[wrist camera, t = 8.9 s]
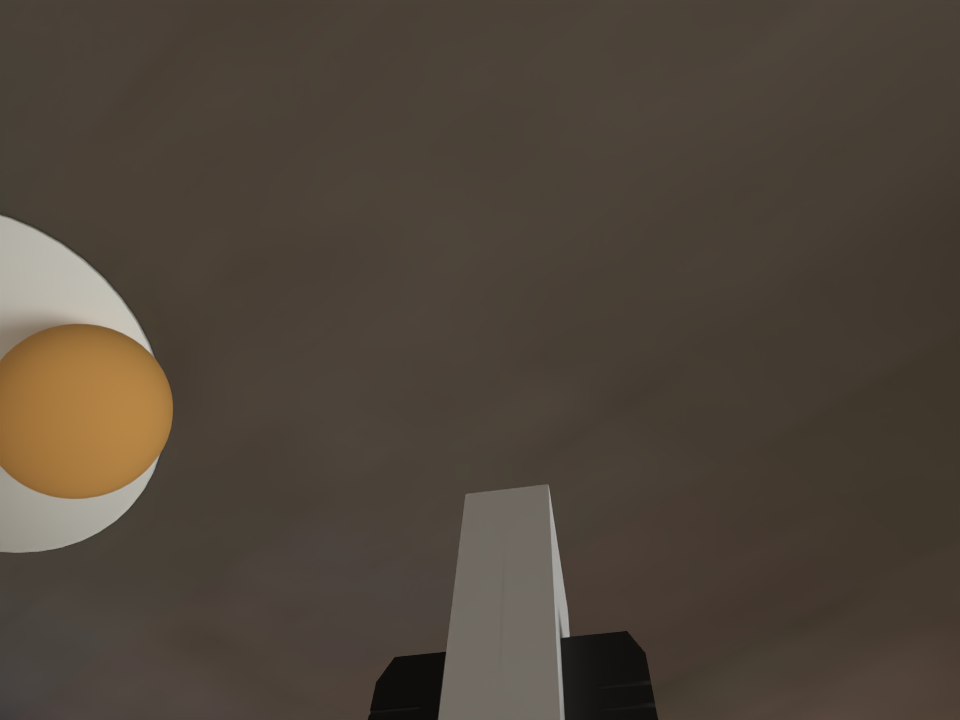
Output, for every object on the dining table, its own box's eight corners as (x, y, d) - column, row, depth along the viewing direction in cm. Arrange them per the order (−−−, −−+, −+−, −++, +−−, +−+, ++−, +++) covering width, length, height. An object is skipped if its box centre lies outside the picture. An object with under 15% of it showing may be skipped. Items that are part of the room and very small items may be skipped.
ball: (190, 437, 32) (201, 485, 27) (30, 491, 31) (10, 553, 26) (139, 292, 31) (141, 315, 26) (-33, 340, 29) (-67, 375, 24)
